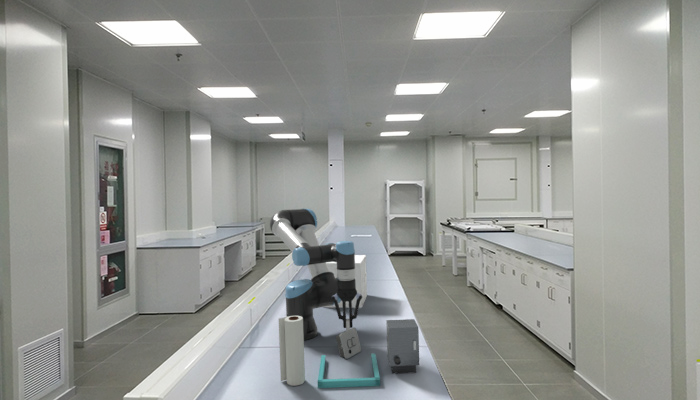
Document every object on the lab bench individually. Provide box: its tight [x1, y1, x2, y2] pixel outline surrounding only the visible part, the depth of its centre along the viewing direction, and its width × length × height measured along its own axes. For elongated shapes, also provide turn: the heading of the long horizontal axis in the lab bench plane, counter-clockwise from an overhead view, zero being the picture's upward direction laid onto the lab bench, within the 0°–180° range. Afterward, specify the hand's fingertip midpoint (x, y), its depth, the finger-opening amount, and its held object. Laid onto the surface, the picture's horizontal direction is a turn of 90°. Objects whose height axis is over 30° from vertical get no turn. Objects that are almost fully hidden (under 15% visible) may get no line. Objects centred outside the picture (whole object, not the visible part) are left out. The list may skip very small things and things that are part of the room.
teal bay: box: [317, 352, 381, 389], centre depth 134 cm, size 20×20×2 cm
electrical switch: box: [335, 327, 362, 360], centre depth 149 cm, size 9×5×9 cm, turn 141°
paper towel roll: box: [278, 316, 306, 387], centre depth 129 cm, size 7×6×21 cm
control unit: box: [385, 318, 420, 374], centre depth 135 cm, size 10×10×16 cm
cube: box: [324, 254, 368, 309], centre depth 221 cm, size 25×21×24 cm
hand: (348, 335), depth 161 cm, fingers closed
